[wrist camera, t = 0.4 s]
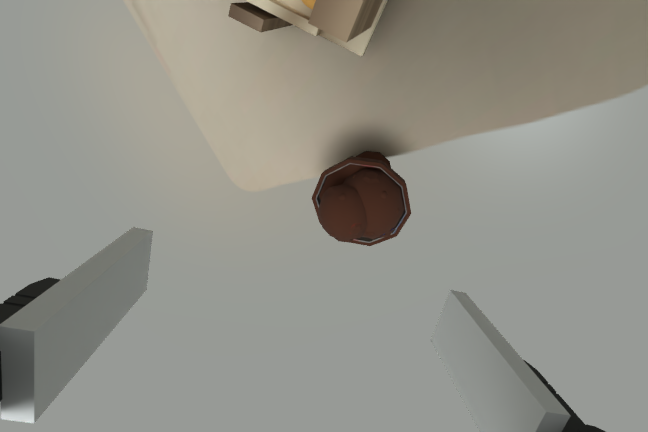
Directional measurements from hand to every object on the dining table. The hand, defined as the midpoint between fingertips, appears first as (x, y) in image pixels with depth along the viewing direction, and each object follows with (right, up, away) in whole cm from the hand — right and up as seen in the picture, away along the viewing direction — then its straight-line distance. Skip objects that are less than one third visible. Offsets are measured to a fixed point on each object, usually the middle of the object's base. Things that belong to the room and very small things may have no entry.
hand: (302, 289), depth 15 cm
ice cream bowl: (+7, +9, +32) cm, 34 cm away
